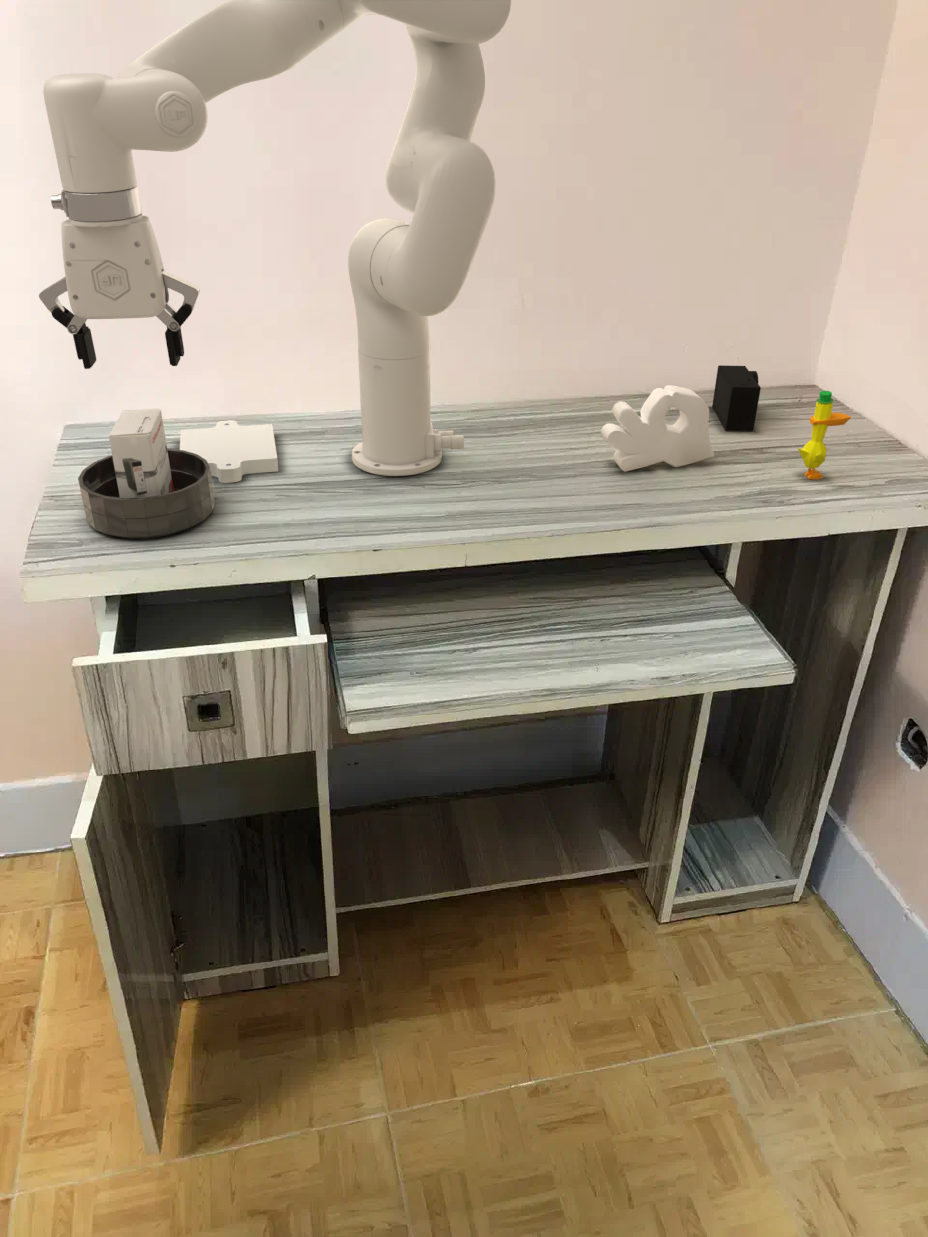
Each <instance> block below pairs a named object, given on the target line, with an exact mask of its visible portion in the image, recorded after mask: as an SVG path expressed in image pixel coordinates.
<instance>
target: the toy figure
mask: <svg viewBox="0 0 928 1237" xmlns="http://www.w3.org/2000/svg"><path fill="white" fill-rule="evenodd" d="M832 395H833V392H832V391H830V390H821V391H819V397H818V398H816V403H815V408H814V412H813V416H811V417H809V418H808V420H809V423H810V425H812V429H811V439H810V440H809V441H807V442H806V443H805V444H804V445H803V448H797V450H798V453H799V455H800V456H801V458H802V461H803V463H804V466H805V468H808V469H807V471H806V472H805V473H804V474H803V476H805V477H807V479H808V480H822V479H823V478H824V475H823V474H822V473H820V471H819V470H816V469H818V468H819V467H821V465H822V464H823V463H825V461H826V456H827V453H828V452H827V451H828V450H827V447H826V444H825V443H824V439H825V436H826V433H827V431H828V428H829V427H834V426H835V427H836V426H843V425H844V426H845V425H846V424H847V423H848V421H850V420H851V419H852V416H851V415H848V414H845V413H842V412H832V411H833V406H834V404H833V402H834V398H832Z"/></svg>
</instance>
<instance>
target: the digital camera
mask: <svg viewBox="0 0 928 1237" xmlns="http://www.w3.org/2000/svg"><path fill="white" fill-rule="evenodd" d="M761 389H762V388H761V386H760V384H759V374H758V371H756V370H749V369H748V367H746V365H718V366H717V371H716V379H715V385H714V392H713V398H712V405H711V408H712V410H713V412H714V413H715V415H716V417H717V419H718V421H719V422H720V424H721V426H722V428H723V429H724V431H725V432H754V430H755V425H756V424H755V423H756V418H757V413H758V407H759V401H760V395H761Z"/></svg>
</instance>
